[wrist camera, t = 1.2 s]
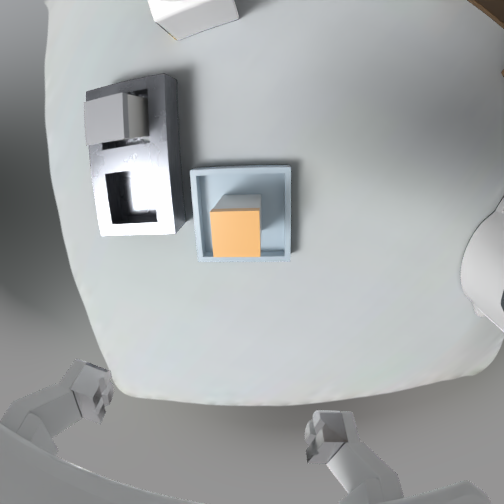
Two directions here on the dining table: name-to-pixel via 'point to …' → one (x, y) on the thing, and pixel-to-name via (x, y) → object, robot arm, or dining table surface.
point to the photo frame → (492, 11)
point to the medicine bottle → (191, 15)
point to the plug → (237, 226)
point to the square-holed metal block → (141, 166)
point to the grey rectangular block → (116, 118)
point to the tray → (240, 183)
